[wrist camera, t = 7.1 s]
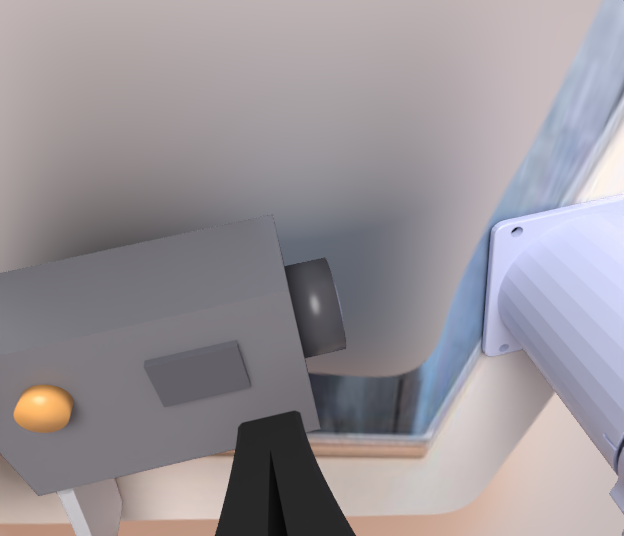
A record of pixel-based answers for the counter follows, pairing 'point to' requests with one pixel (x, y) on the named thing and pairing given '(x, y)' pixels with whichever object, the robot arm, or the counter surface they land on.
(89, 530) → the side door
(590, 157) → the counter surface
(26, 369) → the block
